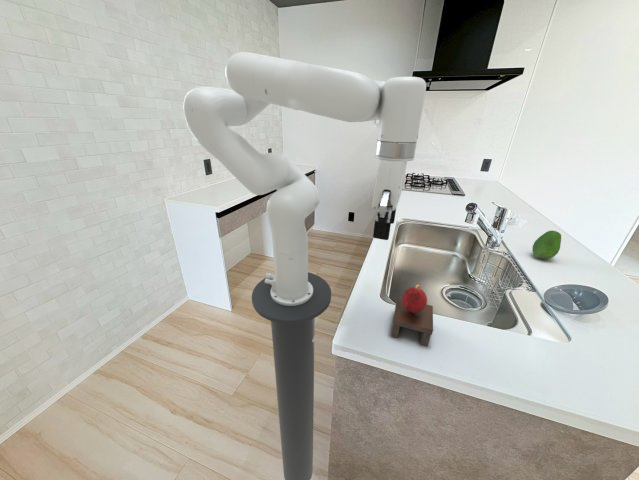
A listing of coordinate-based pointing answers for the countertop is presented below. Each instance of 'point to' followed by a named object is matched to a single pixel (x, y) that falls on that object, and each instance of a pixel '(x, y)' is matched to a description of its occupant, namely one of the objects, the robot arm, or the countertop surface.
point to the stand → (413, 321)
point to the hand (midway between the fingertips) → (384, 229)
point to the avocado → (547, 245)
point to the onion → (414, 299)
